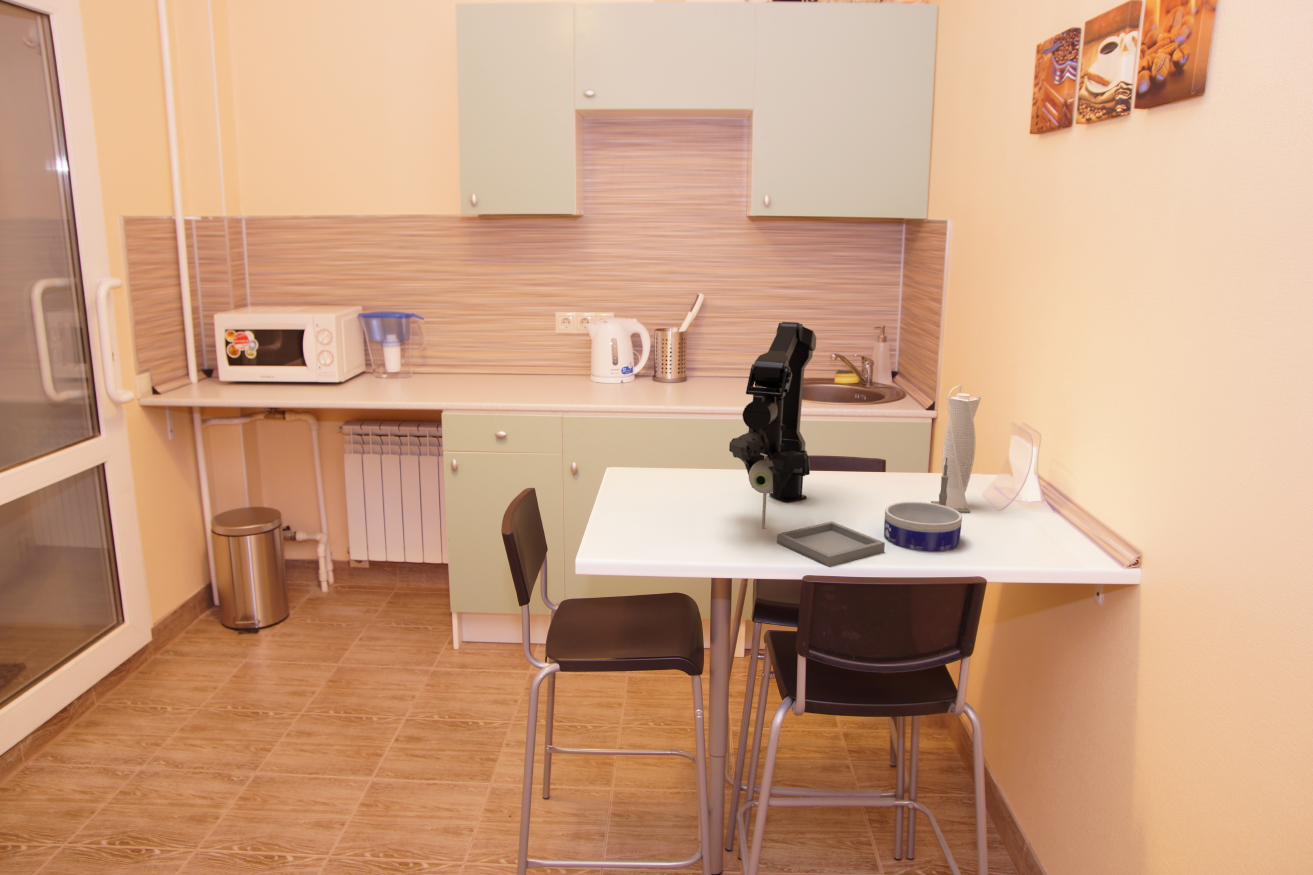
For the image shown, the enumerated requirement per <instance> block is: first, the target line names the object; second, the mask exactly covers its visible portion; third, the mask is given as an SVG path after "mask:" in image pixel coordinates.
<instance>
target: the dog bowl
mask: <svg viewBox="0 0 1313 875" xmlns="http://www.w3.org/2000/svg"><path fill="white" fill-rule="evenodd" d="M962 521H963V516H962V513H959V512H958V511H956V510H954V509H952V508H949V507H947V506H943V505H939V504H933V503H931V502H926V501H925V502H923V501H900V502H895V503H892V504H889V505H888V506H886V507H885V510H884V522H883V524H884V527H883V528H884V529H883V536H884V539H885V540H886V541H887V542H888V543H890V544H892V545H894V546H896V547H899V548H903V549H906V550H911V551H916V552H927V553H928V552H932V553H935V552H936V553H937V552H946V551H951V550H954V549H956V548H957V547H958V546H959V544H960V538H961V531H962Z"/></svg>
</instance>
